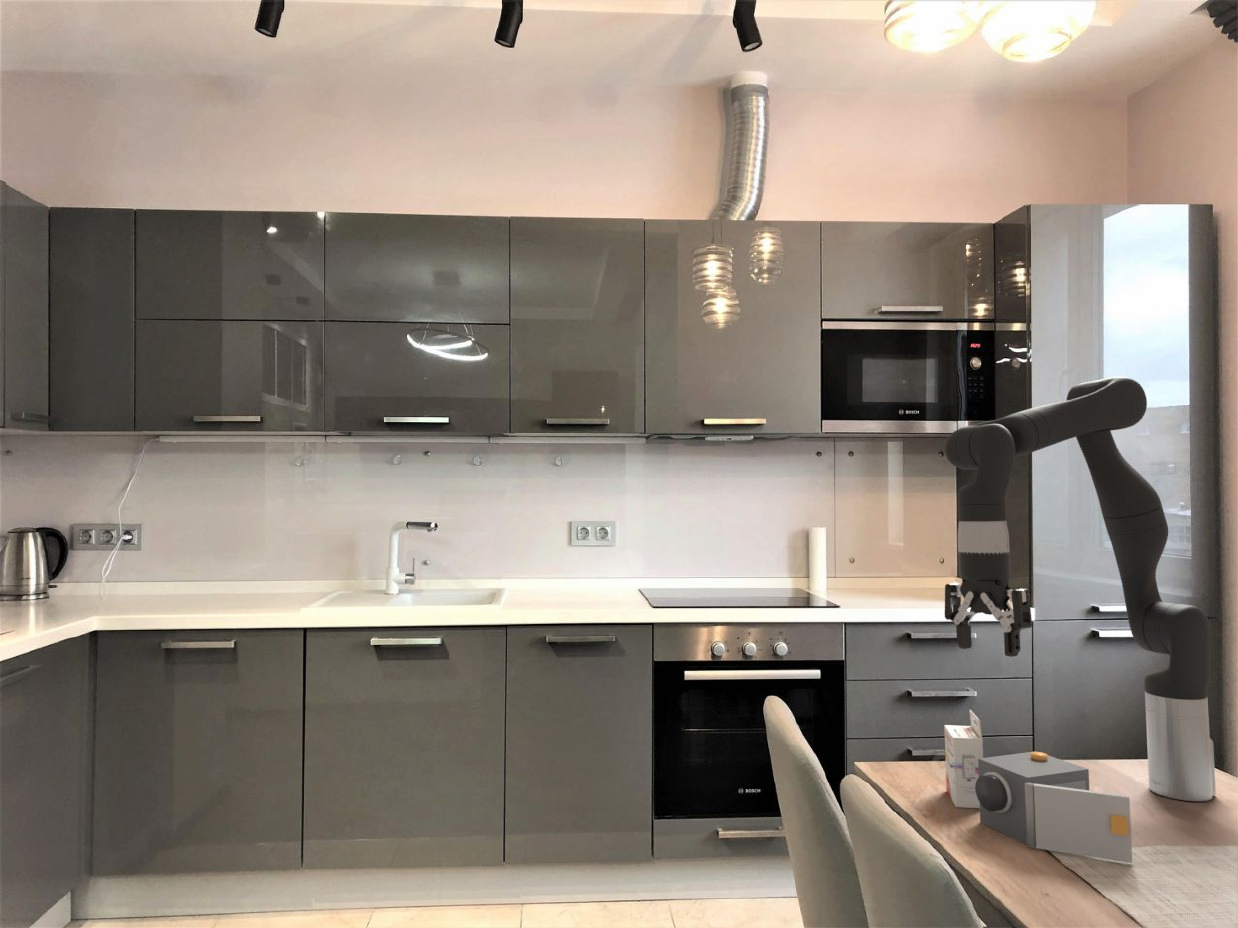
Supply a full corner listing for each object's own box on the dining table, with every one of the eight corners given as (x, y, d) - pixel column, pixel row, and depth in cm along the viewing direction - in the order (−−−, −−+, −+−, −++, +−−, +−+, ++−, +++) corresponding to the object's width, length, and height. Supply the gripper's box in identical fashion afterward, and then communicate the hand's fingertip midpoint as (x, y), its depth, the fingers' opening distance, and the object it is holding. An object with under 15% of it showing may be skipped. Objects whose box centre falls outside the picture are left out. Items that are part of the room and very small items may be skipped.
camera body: (1038, 812, 133) (1036, 746, 134) (1092, 835, 124) (1089, 764, 124) (970, 823, 129) (967, 754, 129) (1020, 848, 119) (1017, 773, 120)
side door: (1131, 860, 114) (1128, 795, 115) (1132, 864, 112) (1129, 798, 113) (1026, 843, 120) (1024, 781, 120) (1027, 847, 118) (1024, 785, 119)
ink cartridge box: (944, 790, 144) (942, 707, 145) (974, 792, 143) (971, 708, 144) (954, 807, 136) (952, 718, 137) (986, 809, 135) (983, 720, 136)
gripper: (1039, 550, 124) (1044, 656, 123) (962, 547, 137) (966, 643, 136) (1007, 552, 121) (1011, 661, 120) (931, 548, 134) (934, 647, 133)
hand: (987, 651), depth 128 cm, fingers open, 8 cm apart
